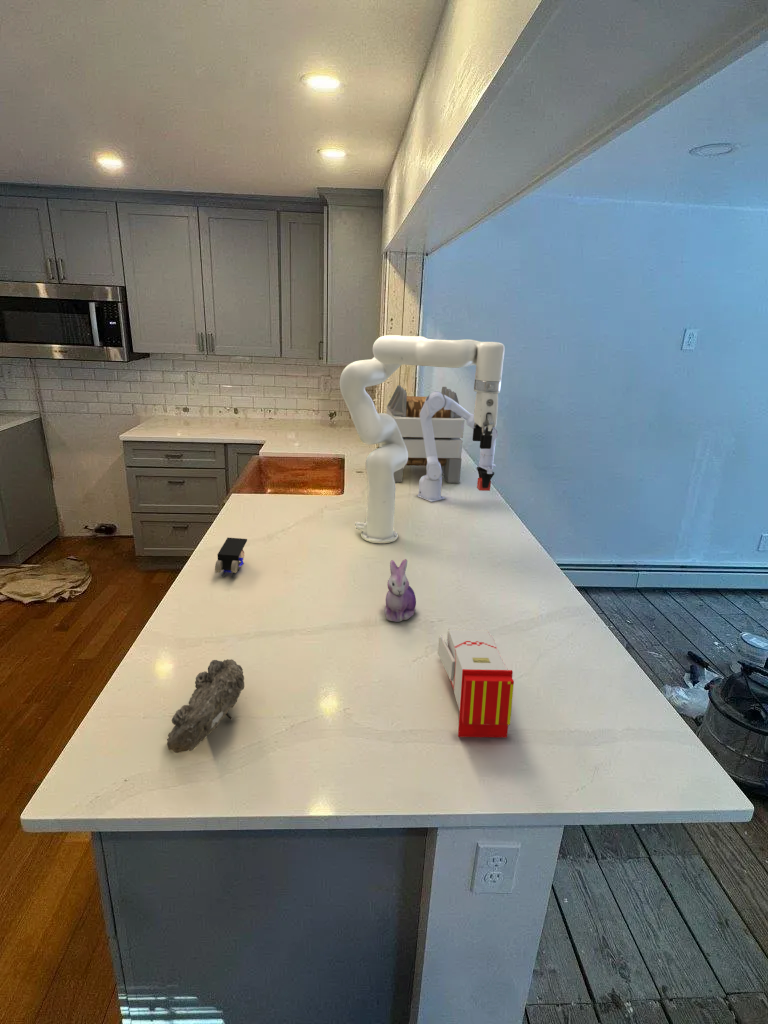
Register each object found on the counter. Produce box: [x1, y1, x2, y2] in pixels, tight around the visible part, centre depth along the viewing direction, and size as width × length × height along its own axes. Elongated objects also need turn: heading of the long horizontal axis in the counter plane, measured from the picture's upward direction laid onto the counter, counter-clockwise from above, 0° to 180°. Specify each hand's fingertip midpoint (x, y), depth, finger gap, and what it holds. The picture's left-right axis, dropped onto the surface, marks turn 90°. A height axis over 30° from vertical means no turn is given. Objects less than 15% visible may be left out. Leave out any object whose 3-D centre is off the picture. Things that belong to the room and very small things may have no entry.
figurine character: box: [214, 537, 248, 578], centre depth 166 cm, size 7×8×15 cm
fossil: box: [166, 658, 245, 754], centre depth 106 cm, size 22×10×15 cm
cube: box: [476, 477, 492, 492], centre depth 236 cm, size 4×5×4 cm
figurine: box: [384, 558, 417, 623], centre depth 145 cm, size 9×10×15 cm
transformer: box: [386, 384, 466, 484], centre depth 268 cm, size 34×33×41 cm
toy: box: [437, 628, 515, 738], centre depth 117 cm, size 12×13×30 cm
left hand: (481, 444), depth 169 cm, fingers open, 9 cm apart
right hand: (483, 485), depth 236 cm, fingers closed on cube, 4 cm apart
